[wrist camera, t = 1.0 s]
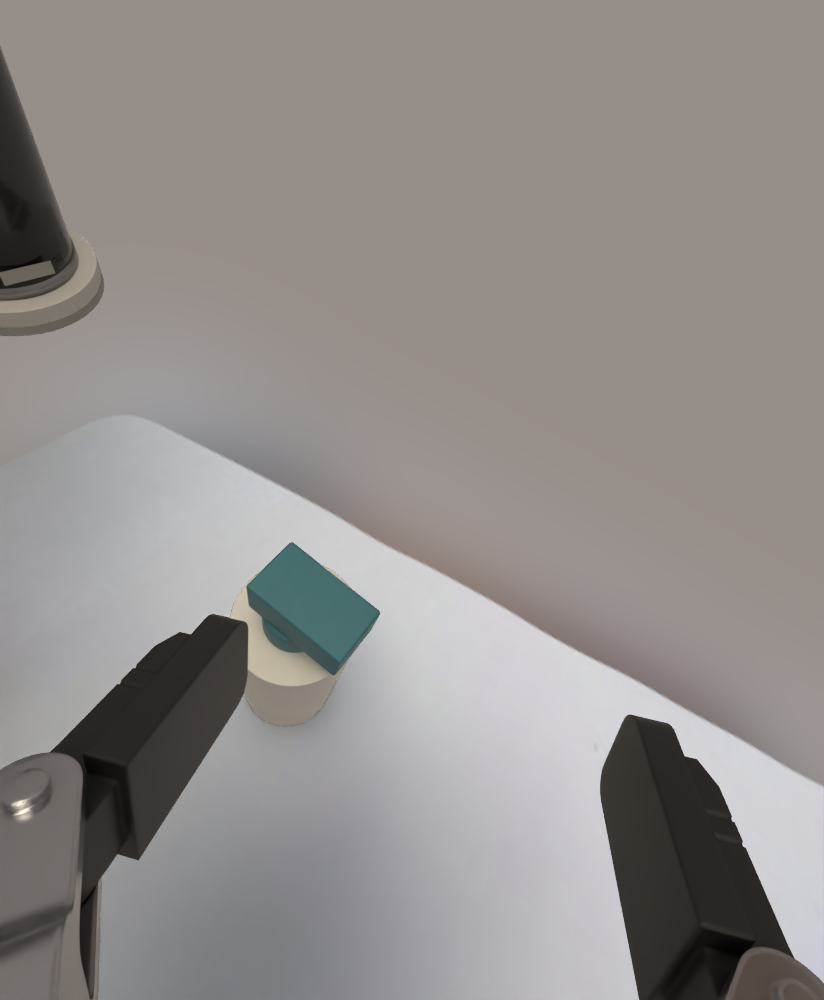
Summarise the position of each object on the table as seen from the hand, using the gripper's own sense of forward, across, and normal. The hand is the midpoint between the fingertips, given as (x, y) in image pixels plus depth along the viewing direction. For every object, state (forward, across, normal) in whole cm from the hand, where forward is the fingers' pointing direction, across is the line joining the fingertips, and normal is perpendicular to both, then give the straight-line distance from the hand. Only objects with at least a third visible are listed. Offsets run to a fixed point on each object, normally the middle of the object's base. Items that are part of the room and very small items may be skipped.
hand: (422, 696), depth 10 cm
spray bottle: (+14, +8, +15) cm, 21 cm away
